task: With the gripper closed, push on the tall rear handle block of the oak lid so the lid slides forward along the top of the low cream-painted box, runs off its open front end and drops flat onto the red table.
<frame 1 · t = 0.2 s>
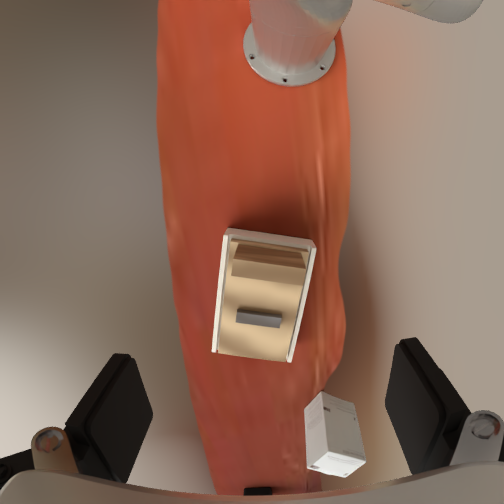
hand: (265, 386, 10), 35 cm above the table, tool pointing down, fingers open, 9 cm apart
box: (260, 292, 48), on the table
battery: (258, 490, 64), on the table
skincare box: (327, 405, 54), on the table
lid: (260, 302, 44), point 3 cm above the table, touching box
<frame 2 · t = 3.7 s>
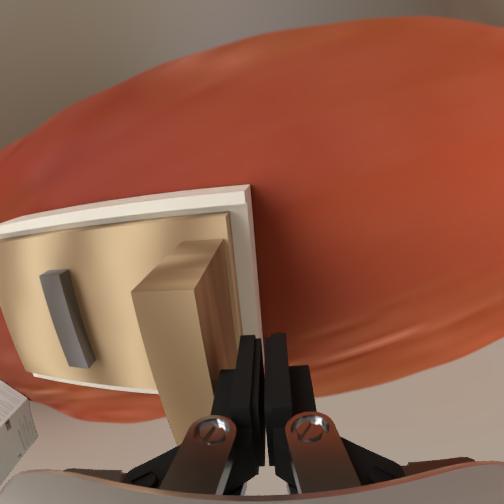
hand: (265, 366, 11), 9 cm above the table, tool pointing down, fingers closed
box: (129, 284, 21), on the table
skincare box: (16, 405, 27), on the table
lid: (102, 306, 18), point 4 cm above the table, touching gripper
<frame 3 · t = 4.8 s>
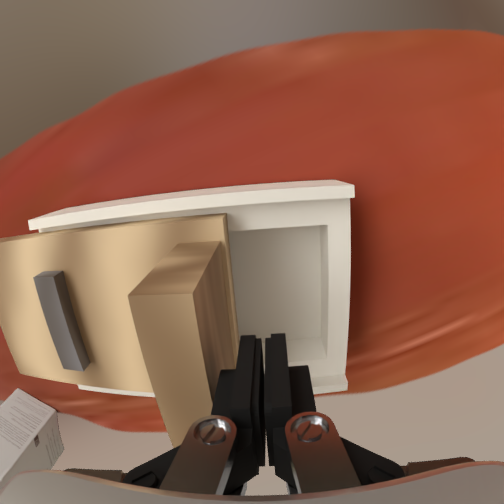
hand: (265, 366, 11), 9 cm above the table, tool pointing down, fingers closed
box: (197, 283, 21), on the table
skincare box: (40, 417, 26), on the table
lid: (97, 308, 18), point 3 cm above the table, touching box, gripper
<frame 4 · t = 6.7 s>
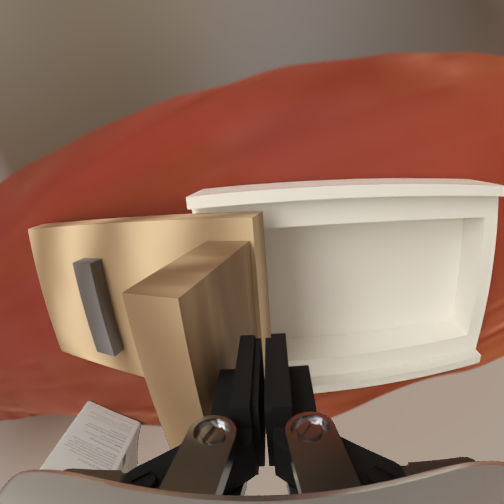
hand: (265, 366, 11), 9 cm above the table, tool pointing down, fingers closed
box: (353, 272, 20), on the table
skincare box: (113, 431, 26), on the table
lid: (136, 297, 19), point 2 cm above the table, tilted 15°, touching box
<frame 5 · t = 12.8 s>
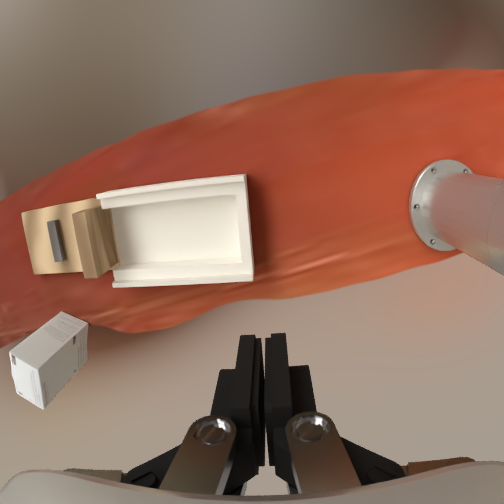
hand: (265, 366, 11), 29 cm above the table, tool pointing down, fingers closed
box: (180, 228, 40), on the table
skincare box: (74, 334, 46), on the table
lid: (71, 236, 42), on the table
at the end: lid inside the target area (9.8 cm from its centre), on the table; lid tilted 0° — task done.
